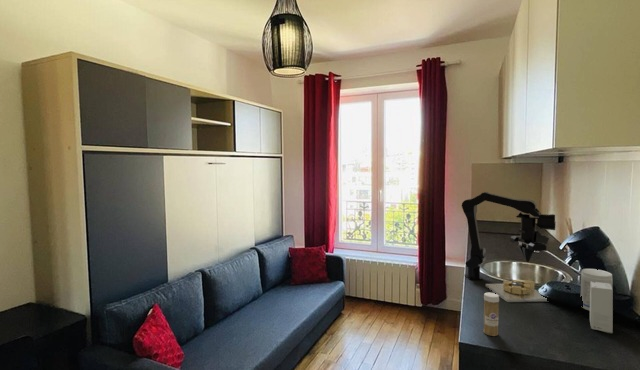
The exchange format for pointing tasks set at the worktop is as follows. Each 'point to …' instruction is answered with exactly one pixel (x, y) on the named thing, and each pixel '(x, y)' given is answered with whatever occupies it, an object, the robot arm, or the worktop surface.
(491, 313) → the sprinkles bottle
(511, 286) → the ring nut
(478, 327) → the worktop surface
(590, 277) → the supplement tub
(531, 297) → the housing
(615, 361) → the worktop surface
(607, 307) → the skincare box
